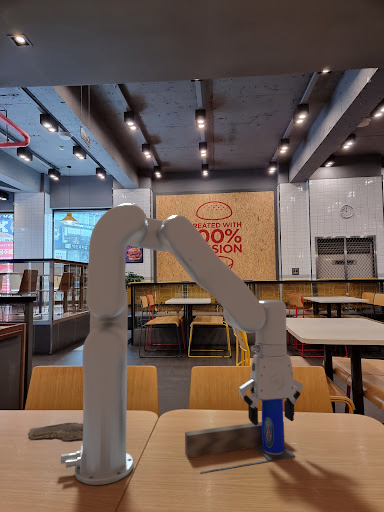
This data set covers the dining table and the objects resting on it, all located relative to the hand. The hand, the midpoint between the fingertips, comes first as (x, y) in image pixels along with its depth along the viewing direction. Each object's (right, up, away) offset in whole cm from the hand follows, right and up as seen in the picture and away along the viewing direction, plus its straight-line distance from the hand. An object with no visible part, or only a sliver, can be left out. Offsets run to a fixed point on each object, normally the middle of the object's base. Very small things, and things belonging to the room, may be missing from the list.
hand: (271, 420), depth 82 cm
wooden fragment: (-53, -9, +11) cm, 55 cm away
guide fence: (-7, -7, -3) cm, 11 cm away
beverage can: (0, -7, -1) cm, 7 cm away
